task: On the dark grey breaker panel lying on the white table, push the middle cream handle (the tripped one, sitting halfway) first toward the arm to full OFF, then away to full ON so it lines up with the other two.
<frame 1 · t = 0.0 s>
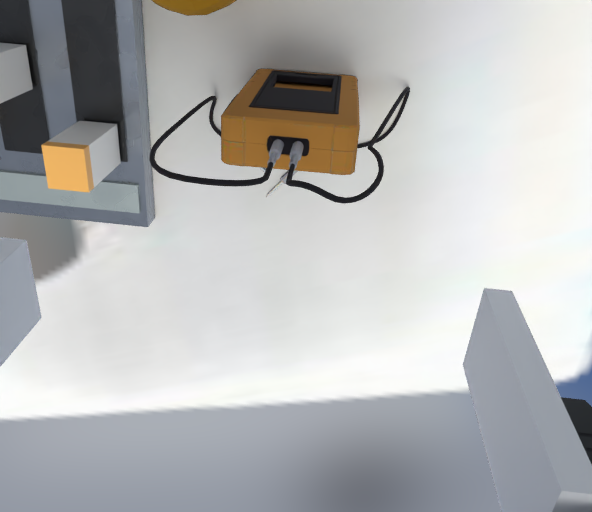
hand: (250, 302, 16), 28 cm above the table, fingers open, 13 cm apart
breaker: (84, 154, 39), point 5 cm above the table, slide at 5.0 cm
multimeter: (304, 137, 43), on the table
panel: (26, 59, 41), on the table
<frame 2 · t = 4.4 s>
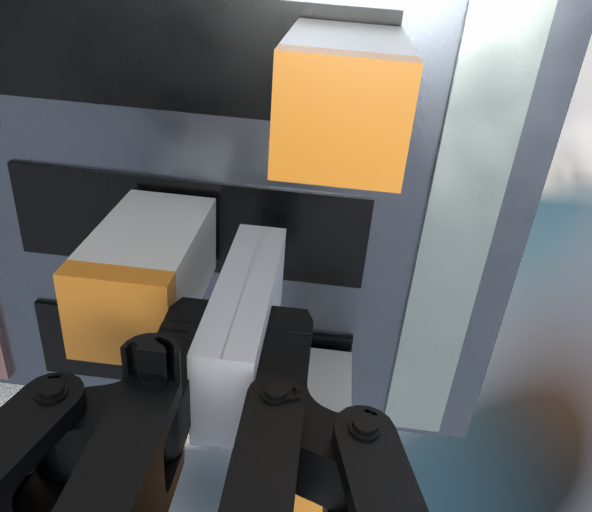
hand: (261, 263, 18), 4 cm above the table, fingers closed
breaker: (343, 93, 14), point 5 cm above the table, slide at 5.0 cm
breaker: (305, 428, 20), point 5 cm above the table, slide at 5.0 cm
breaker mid: (148, 270, 18), point 5 cm above the table, slide at -0.5 cm, touching gripper
panel: (202, 205, 22), on the table
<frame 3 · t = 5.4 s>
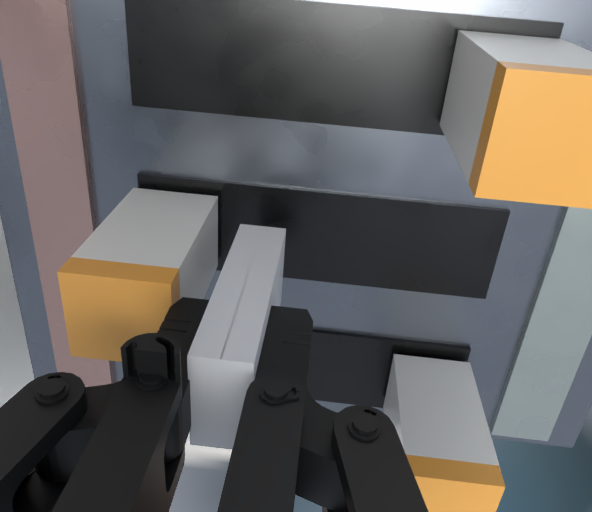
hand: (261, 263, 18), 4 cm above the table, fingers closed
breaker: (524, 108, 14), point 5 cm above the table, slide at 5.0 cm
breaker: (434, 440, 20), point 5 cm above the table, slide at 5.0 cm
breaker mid: (151, 268, 18), point 5 cm above the table, slide at -5.1 cm, touching gripper
panel: (319, 215, 22), on the table
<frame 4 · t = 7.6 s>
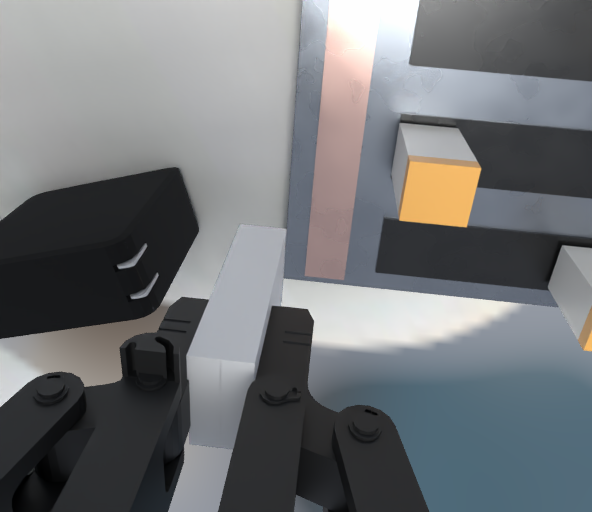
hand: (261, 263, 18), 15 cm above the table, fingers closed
electronic device: (119, 208, 35), on the table
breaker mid: (430, 171, 27), point 5 cm above the table, slide at -5.1 cm
panel: (510, 147, 31), on the table
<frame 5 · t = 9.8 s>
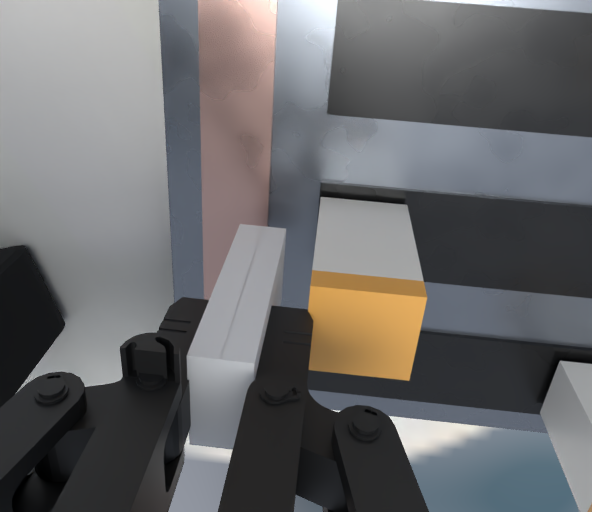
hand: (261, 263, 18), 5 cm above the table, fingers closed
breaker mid: (360, 278, 18), point 5 cm above the table, slide at -4.9 cm, touching gripper
panel: (484, 221, 22), on the table
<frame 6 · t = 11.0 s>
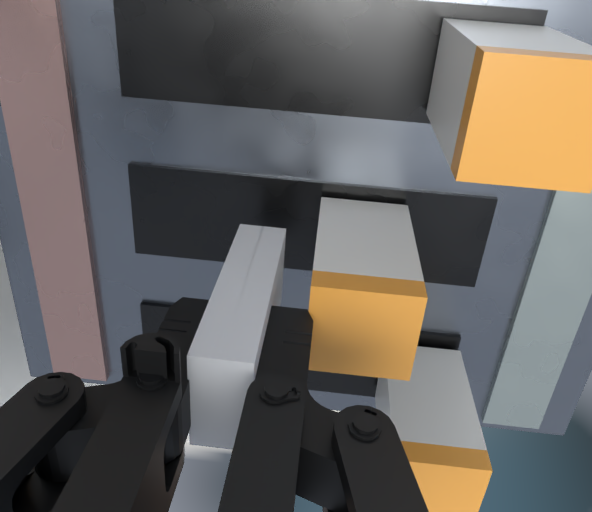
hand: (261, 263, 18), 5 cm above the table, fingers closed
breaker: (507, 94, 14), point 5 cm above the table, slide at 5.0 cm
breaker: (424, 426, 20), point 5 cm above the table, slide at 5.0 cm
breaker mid: (360, 279, 18), point 5 cm above the table, slide at 2.0 cm, touching gripper
panel: (309, 205, 22), on the table
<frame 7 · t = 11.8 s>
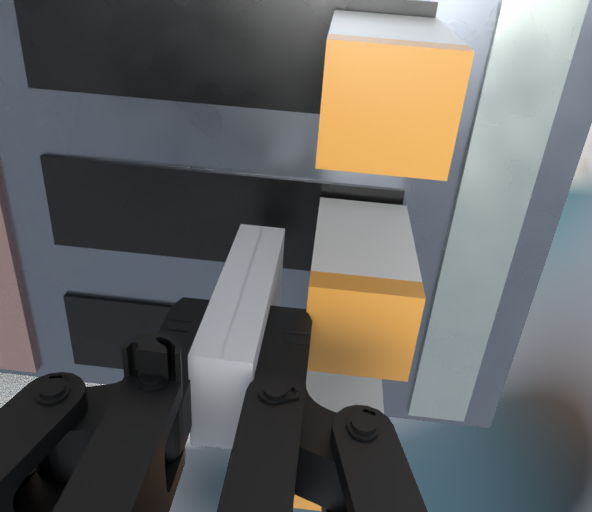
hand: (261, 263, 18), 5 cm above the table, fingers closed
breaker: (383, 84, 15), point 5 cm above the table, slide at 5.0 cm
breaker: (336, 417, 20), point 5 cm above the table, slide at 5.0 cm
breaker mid: (359, 279, 17), point 5 cm above the table, slide at 5.1 cm, touching gripper
panel: (230, 197, 22), on the table
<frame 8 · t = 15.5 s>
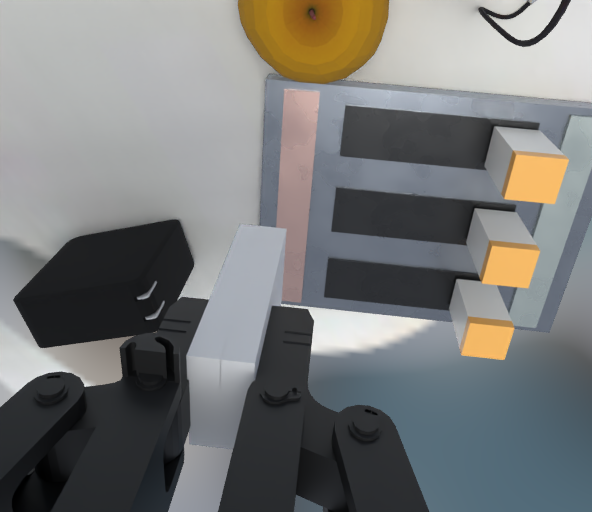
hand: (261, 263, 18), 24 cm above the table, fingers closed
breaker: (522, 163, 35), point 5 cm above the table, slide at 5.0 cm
electronic device: (135, 248, 47), on the table
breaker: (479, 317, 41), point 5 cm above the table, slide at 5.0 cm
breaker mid: (500, 246, 38), point 5 cm above the table, slide at 5.1 cm
panel: (418, 207, 43), on the table
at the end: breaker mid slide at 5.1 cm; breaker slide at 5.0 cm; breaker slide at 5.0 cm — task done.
